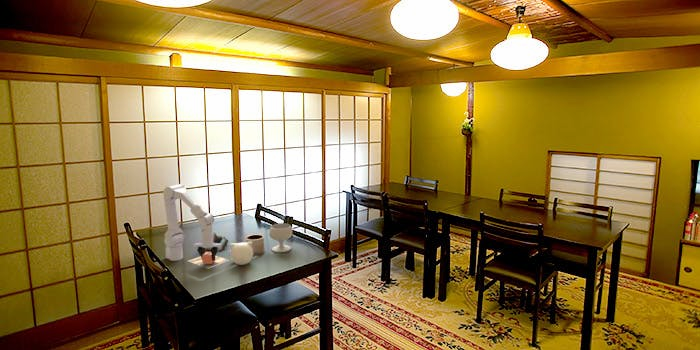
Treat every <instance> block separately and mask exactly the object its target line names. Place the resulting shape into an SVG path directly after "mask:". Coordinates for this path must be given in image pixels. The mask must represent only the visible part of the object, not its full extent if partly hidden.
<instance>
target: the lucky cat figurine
mask: <svg viewBox="0 0 700 350" xmlns="http://www.w3.org/2000/svg"><path fill="white" fill-rule="evenodd" d="M212 232H213V231H212ZM213 243H218V244H221V248H218V250H217V253H218V252H223V251H227V249H228V243H229V239H227V238H226V237H225V236H223V235H217V234H216V232H213ZM206 249H207V250H209V251H211V249H212V248H206Z"/></svg>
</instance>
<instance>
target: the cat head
mask: <svg viewBox="0 0 700 350" xmlns="http://www.w3.org/2000/svg"><path fill="white" fill-rule="evenodd" d="M251 245H252V242H247V243H246V242H238V243H237V242H235V243H232V242H231V243H230V244H229V246H230V248H231V249H229V250H228V252H230V253H229V256H230V260H231V261H232V262H233V263H234V264H236V265H239V266H244V265H247V264H248V263H249V262H250V261H251V260H252V259H253V256H254V254H253V253H254V252H253V250H252V247H251Z"/></svg>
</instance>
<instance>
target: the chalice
mask: <svg viewBox="0 0 700 350" xmlns="http://www.w3.org/2000/svg"><path fill="white" fill-rule="evenodd" d="M268 232H269V234H268V235H269V237H270V238H271V239H272V240H275V241H277V242H278V243H279V245H275V246H273V247H272V248H271V249H270V250H271V251H272V252H274V253H285V252H289V251H291V250H292V247H291V246H290V245H286V244H284V242H285V241H287V240H288V239H290V238H291V237H292V236H293V228H292V226H291V224H289V223H286V222H285V223H284V222H282V223H281V222H280V223H275V224H272V225H271V226H270V228H269V231H268Z"/></svg>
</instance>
